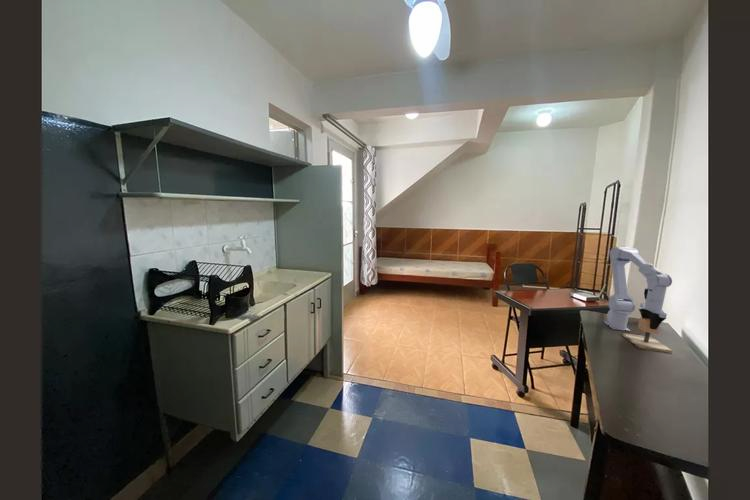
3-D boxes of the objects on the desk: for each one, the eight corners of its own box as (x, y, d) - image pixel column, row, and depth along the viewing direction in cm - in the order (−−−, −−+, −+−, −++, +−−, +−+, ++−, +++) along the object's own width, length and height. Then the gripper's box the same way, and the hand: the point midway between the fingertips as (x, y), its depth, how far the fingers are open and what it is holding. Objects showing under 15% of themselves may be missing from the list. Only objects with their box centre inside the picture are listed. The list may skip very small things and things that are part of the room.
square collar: (637, 327, 135) (639, 317, 134) (650, 329, 134) (652, 319, 133) (644, 331, 131) (646, 321, 130) (657, 333, 129) (659, 323, 128)
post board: (622, 335, 141) (624, 324, 141) (651, 339, 138) (653, 328, 137) (639, 348, 128) (642, 336, 127) (671, 353, 125) (674, 341, 124)
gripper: (635, 293, 138) (630, 319, 140) (655, 303, 124) (649, 331, 126) (652, 295, 136) (647, 321, 138) (674, 305, 122) (668, 334, 124)
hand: (649, 326), depth 132 cm, fingers closed on square collar, 5 cm apart
